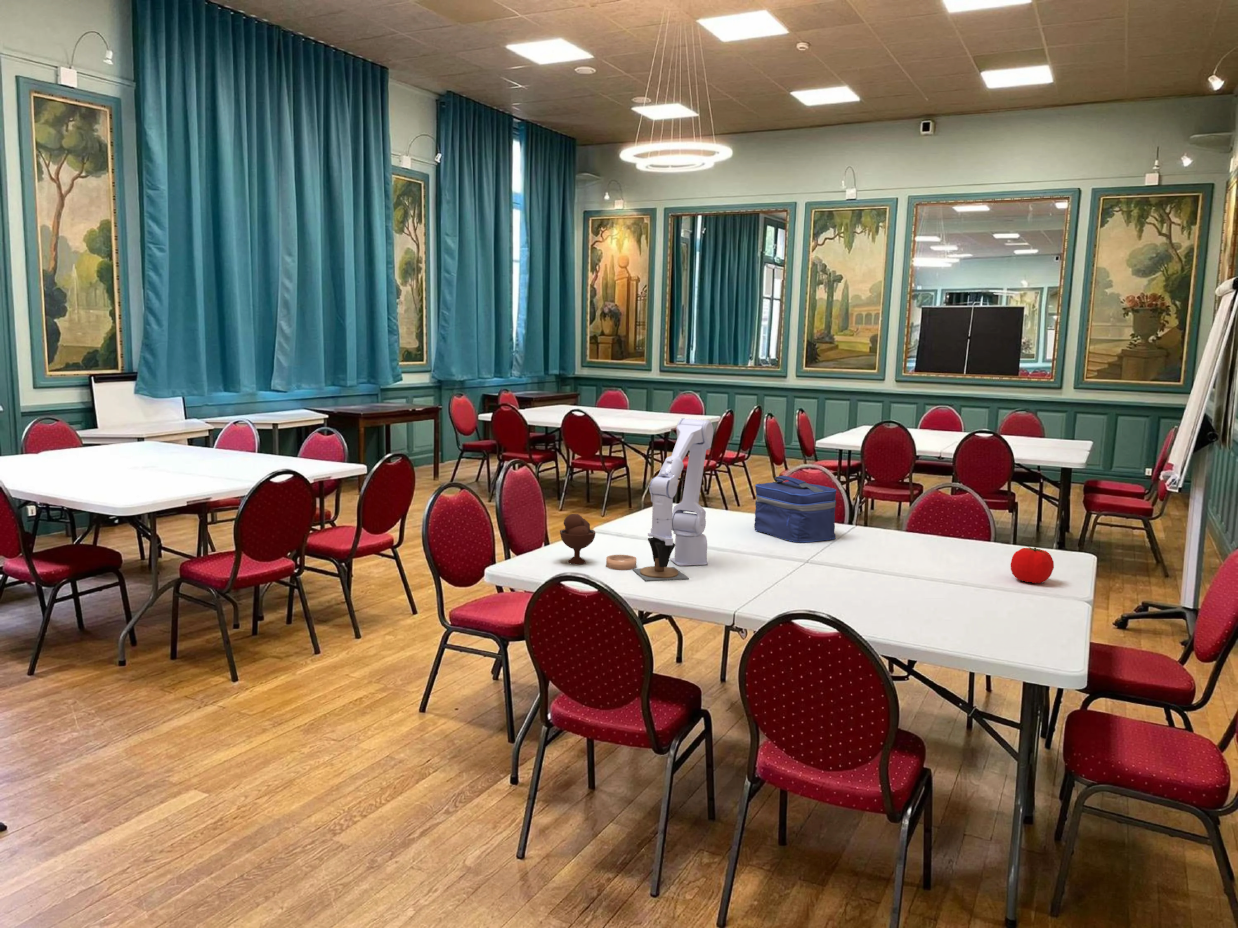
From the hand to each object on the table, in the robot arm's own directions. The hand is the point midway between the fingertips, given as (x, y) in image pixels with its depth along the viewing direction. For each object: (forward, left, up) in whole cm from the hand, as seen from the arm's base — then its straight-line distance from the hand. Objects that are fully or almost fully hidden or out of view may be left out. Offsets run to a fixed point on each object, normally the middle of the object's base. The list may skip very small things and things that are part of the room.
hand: (660, 564), depth 264 cm
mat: (0, 0, -3) cm, 3 cm away
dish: (+8, -12, -3) cm, 15 cm away
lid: (0, 0, -3) cm, 3 cm away
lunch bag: (-66, -48, -3) cm, 81 cm away
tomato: (-106, +26, -3) cm, 110 cm away
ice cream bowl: (+20, -18, -3) cm, 28 cm away
